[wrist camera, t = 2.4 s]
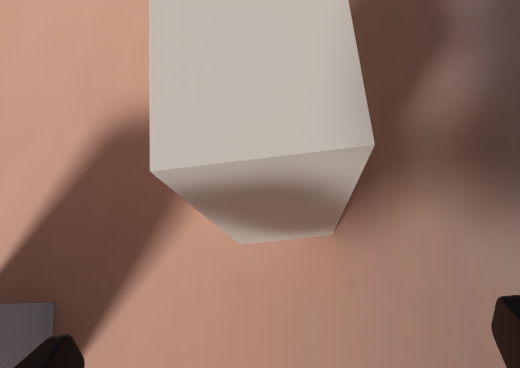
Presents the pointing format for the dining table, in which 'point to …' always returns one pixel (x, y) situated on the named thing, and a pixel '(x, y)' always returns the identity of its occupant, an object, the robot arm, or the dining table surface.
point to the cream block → (258, 112)
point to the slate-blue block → (23, 330)
